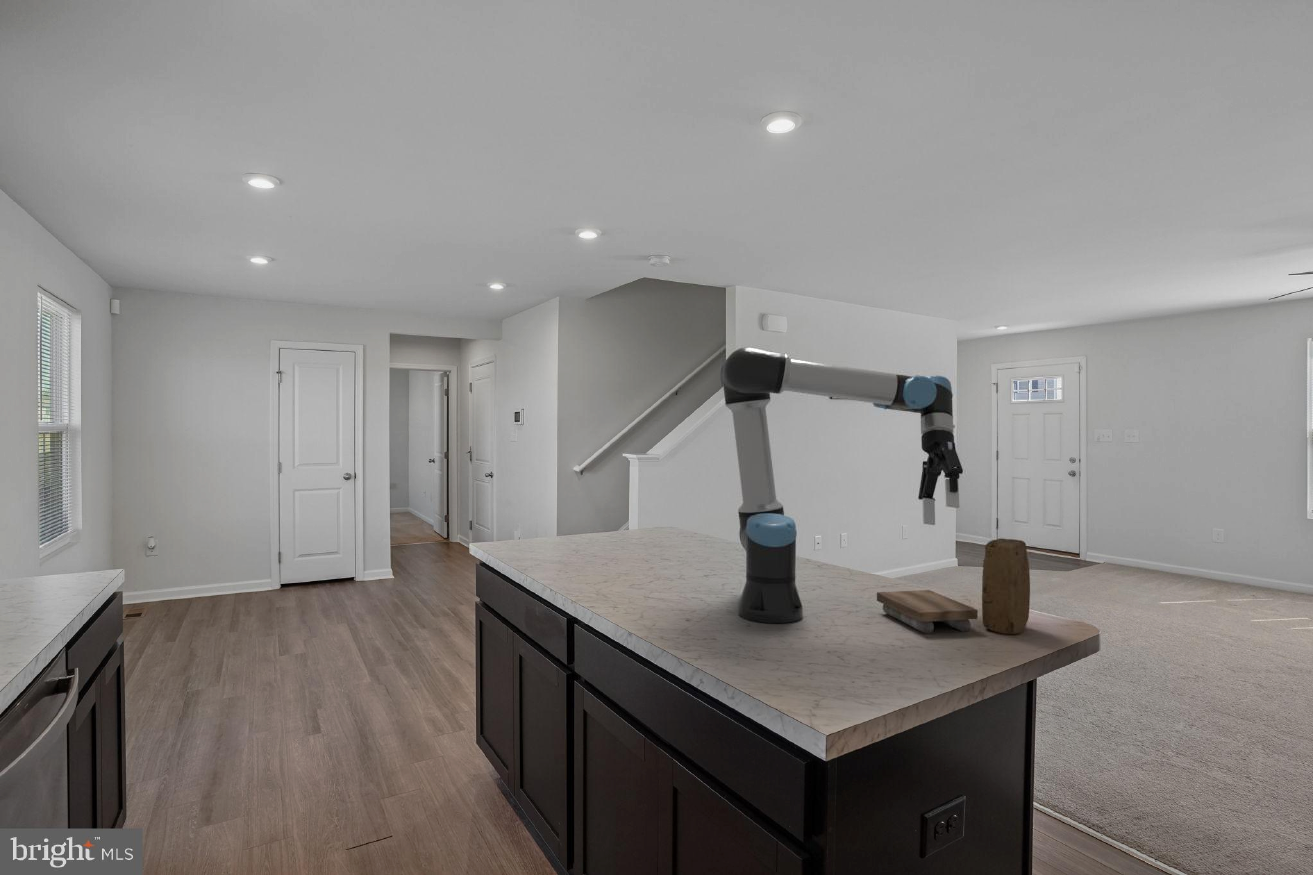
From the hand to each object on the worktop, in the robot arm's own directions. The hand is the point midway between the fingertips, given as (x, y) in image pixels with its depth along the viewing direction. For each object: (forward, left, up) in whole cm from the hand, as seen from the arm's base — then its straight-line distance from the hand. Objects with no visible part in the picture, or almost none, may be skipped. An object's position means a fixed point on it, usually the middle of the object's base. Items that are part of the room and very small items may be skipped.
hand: (940, 515), depth 158 cm
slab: (-6, -3, -24) cm, 25 cm away
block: (+9, -11, -24) cm, 28 cm away
